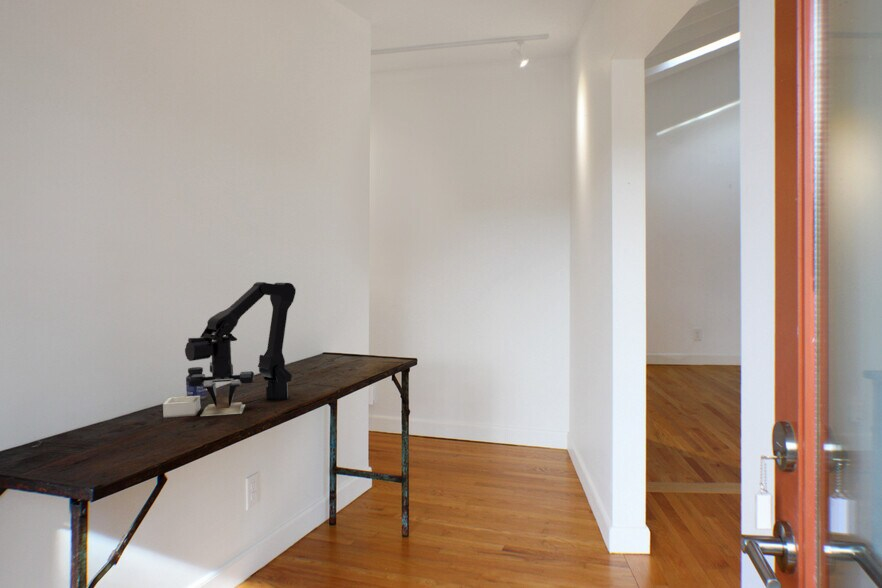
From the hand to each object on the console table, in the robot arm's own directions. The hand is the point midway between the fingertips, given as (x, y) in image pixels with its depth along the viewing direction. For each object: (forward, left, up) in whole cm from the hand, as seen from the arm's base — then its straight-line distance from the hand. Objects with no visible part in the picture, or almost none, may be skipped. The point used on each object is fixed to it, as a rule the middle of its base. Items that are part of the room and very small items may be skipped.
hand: (223, 406), depth 191 cm
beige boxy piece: (+12, 0, -2) cm, 12 cm away
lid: (0, 0, -1) cm, 1 cm away
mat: (0, 0, -2) cm, 2 cm away
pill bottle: (+11, -19, -2) cm, 22 cm away
